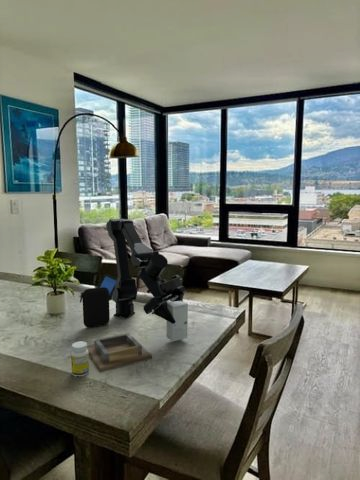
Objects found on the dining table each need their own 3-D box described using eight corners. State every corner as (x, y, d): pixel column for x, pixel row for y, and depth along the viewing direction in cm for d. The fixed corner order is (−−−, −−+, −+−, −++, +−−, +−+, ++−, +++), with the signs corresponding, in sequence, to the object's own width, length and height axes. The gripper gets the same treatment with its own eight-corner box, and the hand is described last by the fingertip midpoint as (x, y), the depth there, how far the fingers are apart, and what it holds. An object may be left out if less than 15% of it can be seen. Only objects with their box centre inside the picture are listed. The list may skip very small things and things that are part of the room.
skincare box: (172, 342, 117) (172, 306, 115) (165, 337, 120) (165, 302, 119) (188, 337, 120) (188, 303, 118) (180, 333, 124) (181, 299, 122)
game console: (79, 295, 172) (79, 277, 170) (105, 290, 180) (105, 273, 179) (93, 303, 159) (93, 284, 158) (120, 298, 168) (120, 279, 166)
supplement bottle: (73, 368, 102) (72, 340, 101) (90, 368, 102) (89, 340, 101) (70, 377, 97) (68, 348, 96) (87, 376, 98) (86, 347, 96)
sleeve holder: (85, 349, 114) (85, 338, 114) (132, 339, 122) (132, 329, 121) (100, 371, 100) (99, 359, 100) (152, 358, 108) (151, 347, 107)
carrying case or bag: (81, 330, 129) (80, 291, 127) (80, 327, 132) (78, 288, 130) (110, 325, 134) (109, 287, 132) (108, 322, 136) (107, 285, 134)
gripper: (150, 274, 111) (180, 315, 107) (182, 263, 127) (209, 298, 122) (131, 294, 116) (158, 334, 112) (164, 281, 132) (189, 316, 128)
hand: (180, 319), depth 119 cm, fingers closed on skincare box, 7 cm apart
